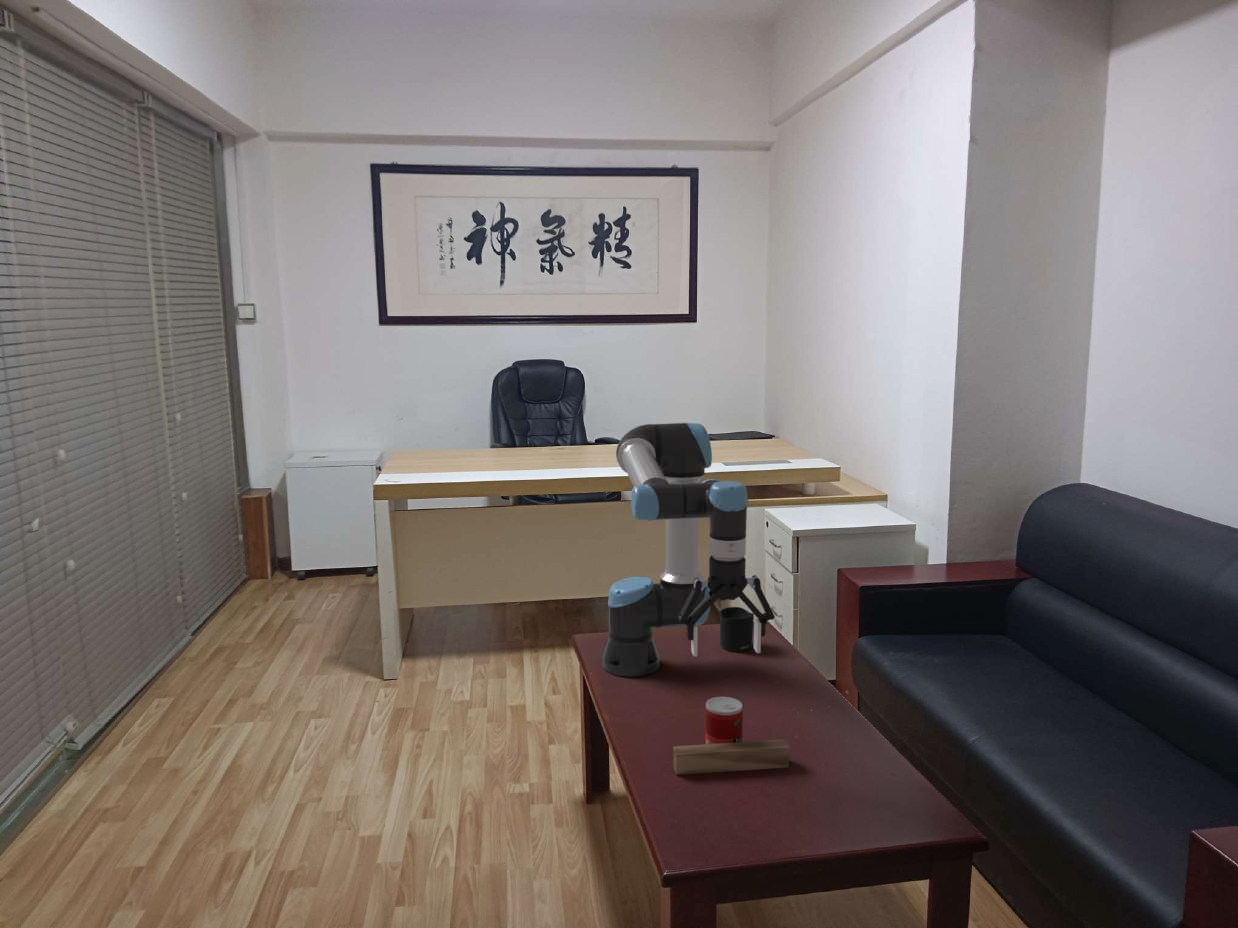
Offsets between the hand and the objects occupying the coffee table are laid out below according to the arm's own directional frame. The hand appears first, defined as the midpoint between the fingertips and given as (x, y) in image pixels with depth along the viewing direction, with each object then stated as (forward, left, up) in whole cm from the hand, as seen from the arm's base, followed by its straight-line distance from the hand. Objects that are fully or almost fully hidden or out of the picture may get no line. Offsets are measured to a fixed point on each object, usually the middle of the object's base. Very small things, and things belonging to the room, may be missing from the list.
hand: (725, 652), depth 190 cm
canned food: (0, 0, -23) cm, 23 cm away
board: (+7, 0, -23) cm, 24 cm away
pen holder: (-56, +17, -23) cm, 63 cm away
